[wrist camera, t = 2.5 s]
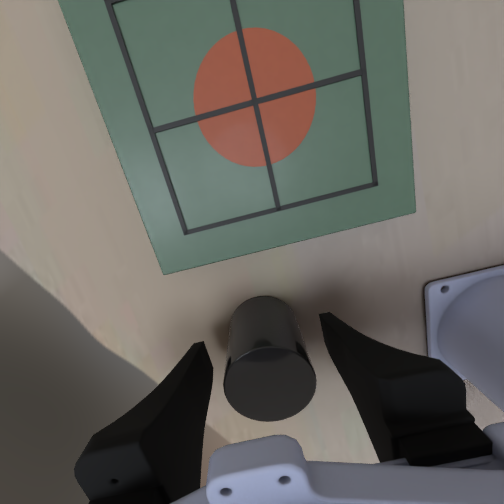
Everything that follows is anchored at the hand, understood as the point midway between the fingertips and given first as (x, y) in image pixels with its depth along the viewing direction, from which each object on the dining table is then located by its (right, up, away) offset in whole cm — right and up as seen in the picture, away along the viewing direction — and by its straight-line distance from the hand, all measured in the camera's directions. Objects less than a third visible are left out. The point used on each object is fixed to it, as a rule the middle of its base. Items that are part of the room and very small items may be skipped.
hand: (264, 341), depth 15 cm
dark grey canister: (0, 0, +2) cm, 2 cm away
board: (-1, +13, -2) cm, 13 cm away
